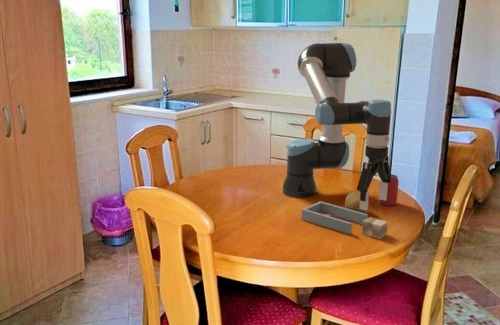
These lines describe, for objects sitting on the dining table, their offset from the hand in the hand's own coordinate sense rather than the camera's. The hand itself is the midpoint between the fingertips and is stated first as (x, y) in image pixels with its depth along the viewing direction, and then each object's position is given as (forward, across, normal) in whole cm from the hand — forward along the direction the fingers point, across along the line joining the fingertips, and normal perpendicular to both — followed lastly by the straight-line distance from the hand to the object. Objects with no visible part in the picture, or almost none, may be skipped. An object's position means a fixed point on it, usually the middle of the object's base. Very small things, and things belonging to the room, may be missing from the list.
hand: (373, 204), depth 174 cm
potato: (+11, +14, +14) cm, 23 cm away
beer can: (+11, +32, +10) cm, 36 cm away
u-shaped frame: (+11, 0, +15) cm, 19 cm away
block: (+9, 0, +2) cm, 9 cm away
